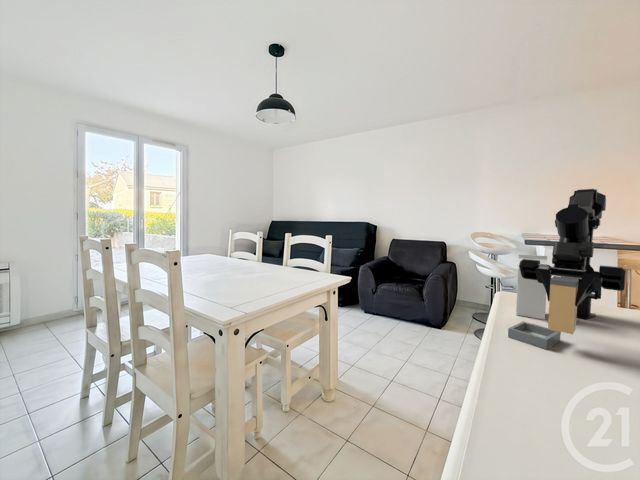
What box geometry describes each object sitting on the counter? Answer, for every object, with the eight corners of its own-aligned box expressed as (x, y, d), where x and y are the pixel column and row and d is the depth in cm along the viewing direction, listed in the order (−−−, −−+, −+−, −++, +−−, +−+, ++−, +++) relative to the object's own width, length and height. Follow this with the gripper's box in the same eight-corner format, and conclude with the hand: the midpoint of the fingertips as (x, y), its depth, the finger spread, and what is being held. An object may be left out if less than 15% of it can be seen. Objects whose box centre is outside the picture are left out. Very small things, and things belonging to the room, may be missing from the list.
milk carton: (544, 320, 82) (547, 257, 81) (515, 315, 87) (518, 256, 85) (543, 313, 88) (546, 254, 86) (516, 309, 92) (518, 253, 91)
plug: (551, 323, 68) (554, 276, 67) (575, 328, 65) (578, 278, 64) (548, 328, 65) (550, 279, 64) (573, 334, 62) (576, 282, 61)
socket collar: (522, 329, 76) (523, 321, 76) (560, 340, 69) (560, 331, 69) (507, 337, 72) (508, 328, 72) (546, 349, 65) (546, 340, 65)
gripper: (522, 228, 72) (508, 276, 66) (628, 230, 58) (623, 291, 52) (528, 254, 78) (516, 301, 72) (626, 261, 64) (621, 320, 58)
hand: (562, 302), depth 63 cm, fingers closed on plug, 4 cm apart
